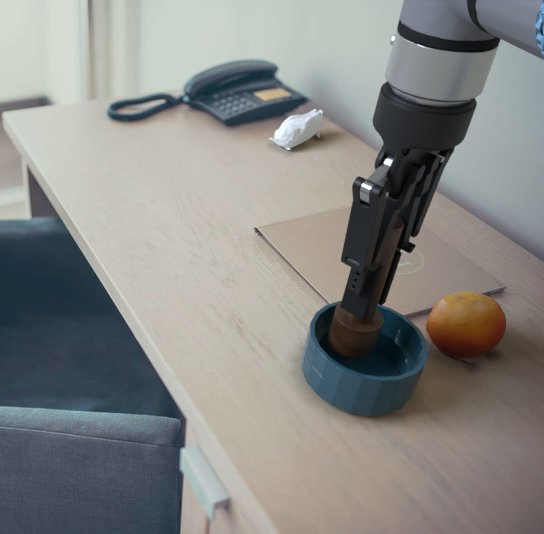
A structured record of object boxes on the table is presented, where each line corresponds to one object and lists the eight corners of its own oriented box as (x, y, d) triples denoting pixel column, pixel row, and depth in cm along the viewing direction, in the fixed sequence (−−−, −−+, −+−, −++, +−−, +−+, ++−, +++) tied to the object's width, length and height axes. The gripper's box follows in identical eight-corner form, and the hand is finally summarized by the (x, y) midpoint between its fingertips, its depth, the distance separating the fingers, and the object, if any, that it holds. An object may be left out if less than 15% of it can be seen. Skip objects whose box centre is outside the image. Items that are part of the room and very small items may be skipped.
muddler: (383, 343, 70) (426, 222, 60) (357, 365, 67) (398, 242, 58) (344, 320, 73) (379, 200, 63) (318, 340, 70) (350, 218, 60)
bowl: (432, 380, 71) (449, 341, 67) (373, 439, 65) (388, 400, 61) (340, 323, 78) (351, 285, 74) (278, 372, 72) (287, 333, 68)
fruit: (491, 380, 69) (477, 313, 67) (424, 370, 76) (409, 308, 74) (526, 347, 73) (514, 283, 72) (460, 340, 80) (446, 281, 78)
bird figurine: (293, 135, 121) (265, 139, 114) (310, 102, 117) (282, 104, 110) (314, 148, 119) (286, 154, 111) (332, 115, 115) (304, 119, 108)
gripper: (436, 54, 59) (373, 258, 73) (334, 99, 50) (286, 319, 65) (518, 79, 54) (434, 290, 69) (422, 132, 46) (349, 361, 60)
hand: (362, 304), depth 67 cm, fingers closed on muddler, 3 cm apart
